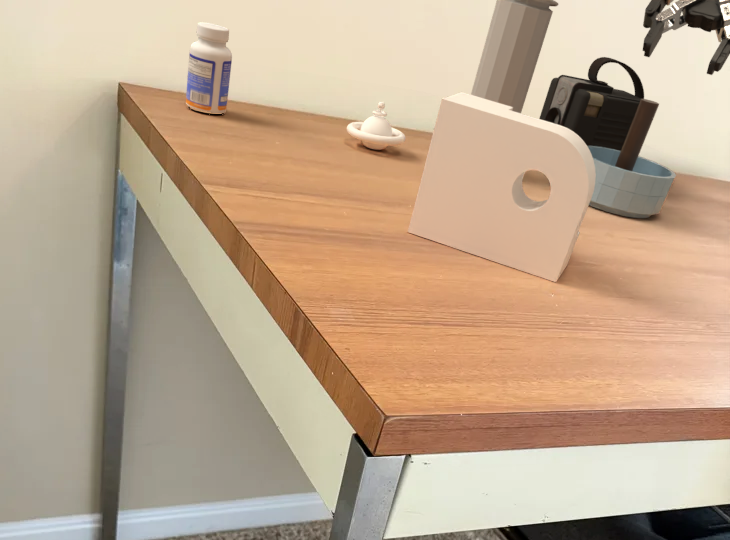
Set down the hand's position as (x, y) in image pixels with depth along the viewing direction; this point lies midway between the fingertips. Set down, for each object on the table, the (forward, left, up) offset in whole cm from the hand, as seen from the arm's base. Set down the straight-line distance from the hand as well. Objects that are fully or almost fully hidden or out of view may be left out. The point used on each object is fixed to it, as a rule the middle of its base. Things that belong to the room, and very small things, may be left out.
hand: (678, 60), depth 107 cm
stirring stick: (+5, +3, -17) cm, 18 cm away
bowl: (+5, +3, -17) cm, 18 cm away
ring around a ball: (+34, -14, -18) cm, 41 cm away
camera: (-1, -13, -18) cm, 22 cm away
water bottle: (+19, -10, -18) cm, 28 cm away
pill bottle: (+54, -25, -18) cm, 62 cm away
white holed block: (+38, +20, -18) cm, 47 cm away
